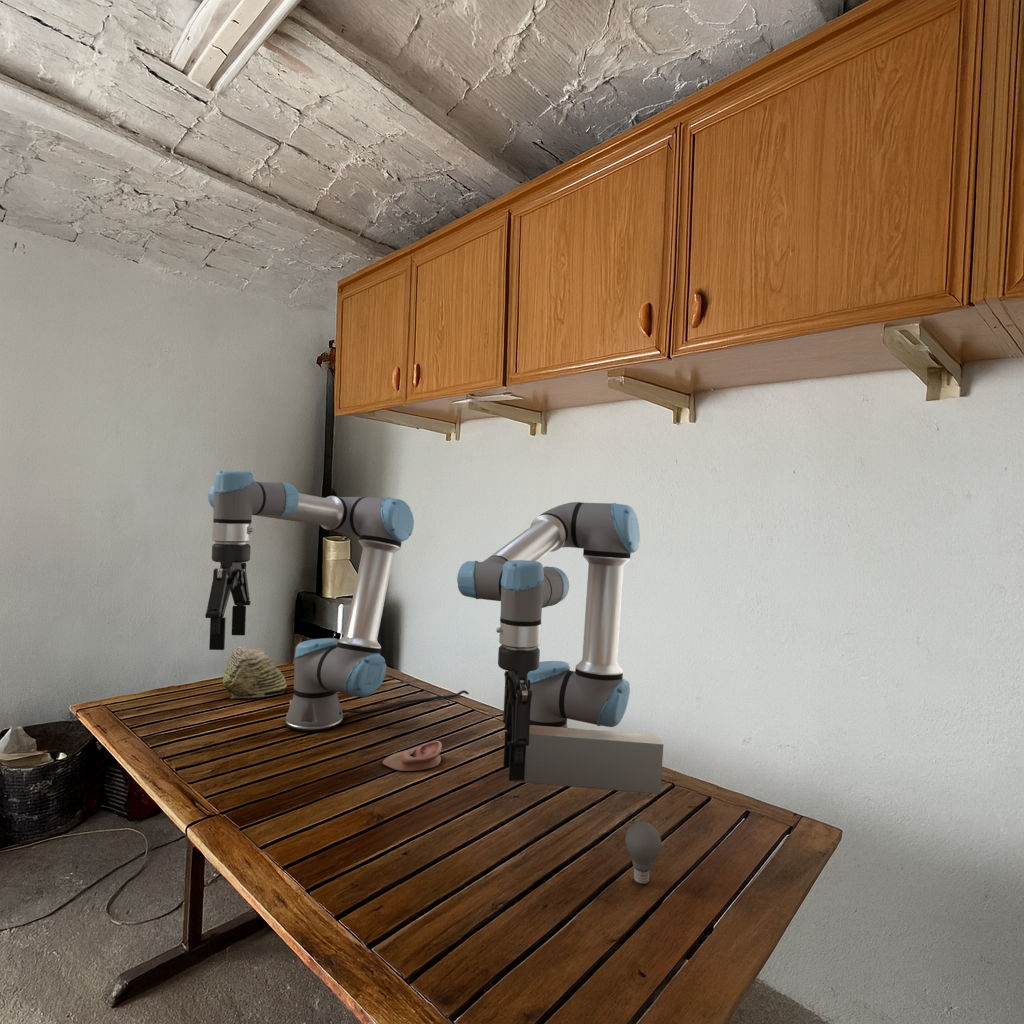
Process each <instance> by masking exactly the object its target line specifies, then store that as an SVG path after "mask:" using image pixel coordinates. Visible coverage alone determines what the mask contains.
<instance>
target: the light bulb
mask: <svg viewBox="0 0 1024 1024" xmlns="http://www.w3.org/2000/svg"><path fill="white" fill-rule="evenodd" d="M624 839H625V840H624V841H625V846H626V849H627V851H628V853H629V855H630V857H631V863H632V866H633V879H634V882H636V883H639V884H648V883H649V882H650V870H651V869H652V867H653V862H654V861H655V859H656V858H657V856H658V854H659V853H660V851H661V847H662V839H661V835H660V833H659V831H658V829H657V828H656V827H655V826H654V825H653V824H651V823H649V822H647V821H637V822H634V823H633V824H632V825H630V826H629V828H627V830H626V834H625V838H624Z"/></svg>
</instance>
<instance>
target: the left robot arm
mask: <svg viewBox="0 0 1024 1024" xmlns="http://www.w3.org/2000/svg"><path fill="white" fill-rule="evenodd" d="M207 501H208V503H209V505H210V507H211V508H213V509H212V510H213V511H212V512H213V514H212V515H213V518H212V519H213V520H212V532H211V533H212V534H211V540H212V541H213V542H214V543H213V544H212V545H211V561H213V562H215V563H219V564H220V565H219V568H215V567H214V569H213V573H212V583H211V587H210V591H209V596H208V602H207V607H206V612H205V615H204V616H205V617H204V618H205V619H210V622H209V645H208V646H209V647H208V648H209V649H208V650H209V651H224V650H225V649H226V647H225V646H226V644H225V643H226V641H225V640H226V619H227V618H226V617H225V613H226V609H227V606H228V603H229V599H230V595H231V598H232V600H233V606H232V608H231V609H232V611H231V636H245V635H246V621H247V619H246V618H247V606H251V603H252V601H251V598H250V590H249V582H248V574H247V562H249V561H250V560H251V545H250V543H249V542H250V541H251V538H252V537H251V536H252V533H254V527H252V520H253V519H252V518H253V516H255V517H262V518H269V519H277V520H284V521H291V522H298V523H302V524H303V523H305V524H311V525H316V526H317V525H318V526H320V527H321V528H323V529H324V530H327V531H333V532H338V533H342V534H345V535H348V536H352V537H357V538H358V543H359V544H360V546H361V547H362V551H361V556H360V561H359V566H358V571H357V575H356V581H355V585H354V591H353V594H352V595H353V596H352V600H351V605H350V610H349V614H348V619H347V625H346V628H345V634H344V635H343V636H342V637H341V638H339V639H338V638H335V637H326V638H323V637H322V638H313V639H308V640H304V641H302V642H299V643H298V644H297V645H296V647H295V652H294V653H295V654H294V657H293V659H294V660H293V662H294V663H293V665H294V666H293V695H292V696H293V697H292V699H289V708H288V711H287V713H286V715H285V726H286V728H287V729H289V730H291V731H294V732H295V731H296V732H301V733H316V732H325V731H329V730H332V729H335V728H337V727H339V726H340V725H342V723H343V722H344V714H343V713H347V714H349V713H351V714H353V713H354V714H365V713H372V712H377V711H381V710H384V709H389V708H392V707H397V706H402V705H406V704H407V705H408V704H413V703H420V702H427V701H435V700H441V699H442V700H443V699H451V698H455V697H458V696H460V695H463V694H465V695H470V693H469V692H468V691H467V690H460V691H459V692H457V693H455V694H454V693H453V694H448V695H440V696H439V695H438V696H431V697H423V698H416V699H408V700H404V701H399V702H394V703H390V704H385V705H382V706H377V707H373V708H369V709H342V706H341V702H340V699H339V695H338V693H339V694H344V695H347V696H349V697H357V698H367V697H370V696H372V695H373V694H374V693H375V692H376V691H377V690H378V689H379V688H380V687H381V685H382V683H383V682H384V680H385V677H386V673H387V663H386V660H385V657H384V656H382V655H381V651H382V645H381V644H380V643H379V642H378V641H379V640H378V637H379V631H380V626H381V620H382V617H383V610H384V607H385V602H386V601H385V600H386V596H387V591H388V586H389V580H390V575H391V571H392V566H393V560H394V555H395V553H397V552H398V551H400V550H401V547H402V542H405V541H406V540H408V539H409V538H410V537H411V536H412V534H413V531H414V527H415V520H414V515H413V512H412V510H411V507H410V506H409V504H408V503H407V502H406V501H405V500H402V499H400V498H393V497H390V496H388V497H379V496H377V497H376V496H371V497H370V496H336V495H329V496H326V497H321V496H316V495H311V494H306V493H299V491H298V489H297V487H295V486H294V485H293V484H292V483H287V482H283V481H257V480H256V481H255V480H254V474H253V473H252V472H251V471H245V470H230V469H229V470H228V469H227V470H226V469H225V470H224V469H223V470H222V469H221V470H218V471H217V472H216V473H215V475H214V483H213V484H212V485H211V486H210V487H209V490H208V494H207Z"/></svg>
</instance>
